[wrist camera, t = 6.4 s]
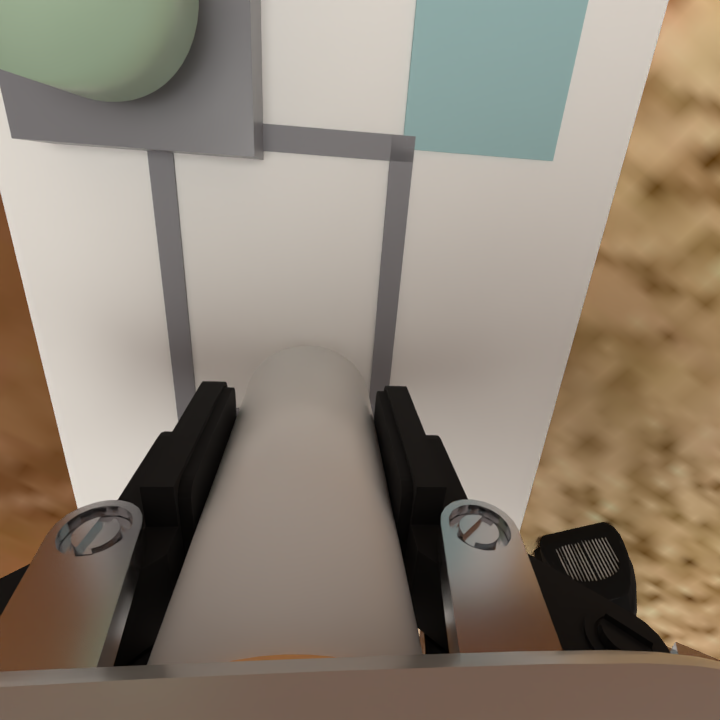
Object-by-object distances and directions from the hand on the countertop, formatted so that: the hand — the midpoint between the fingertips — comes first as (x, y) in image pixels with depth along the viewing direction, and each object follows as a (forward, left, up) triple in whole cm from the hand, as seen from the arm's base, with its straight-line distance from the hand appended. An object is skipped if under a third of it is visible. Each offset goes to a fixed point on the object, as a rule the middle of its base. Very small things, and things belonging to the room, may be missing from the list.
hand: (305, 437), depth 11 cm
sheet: (0, -1, -3) cm, 3 cm away
